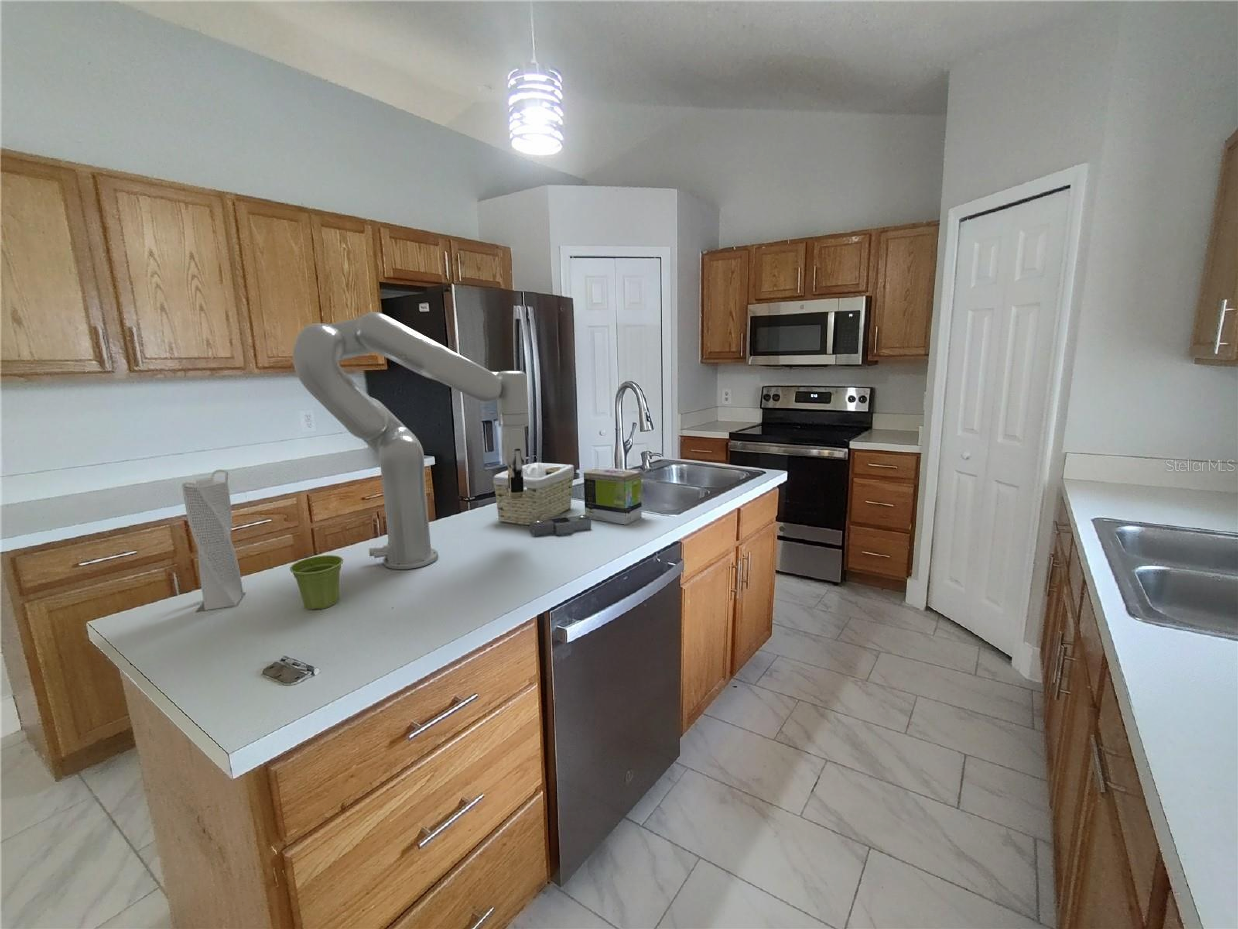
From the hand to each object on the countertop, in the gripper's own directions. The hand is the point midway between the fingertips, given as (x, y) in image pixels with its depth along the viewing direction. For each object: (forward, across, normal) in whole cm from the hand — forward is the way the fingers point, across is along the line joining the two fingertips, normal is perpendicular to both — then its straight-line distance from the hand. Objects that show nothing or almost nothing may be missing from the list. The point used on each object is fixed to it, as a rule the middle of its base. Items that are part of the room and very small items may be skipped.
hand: (516, 489), depth 144 cm
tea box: (+15, -13, +31) cm, 37 cm away
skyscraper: (+16, +13, -63) cm, 66 cm away
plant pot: (+16, +21, -44) cm, 51 cm away
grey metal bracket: (+15, -7, +13) cm, 21 cm away
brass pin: (+2, 0, 0) cm, 2 cm away
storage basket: (+15, -25, +10) cm, 31 cm away
